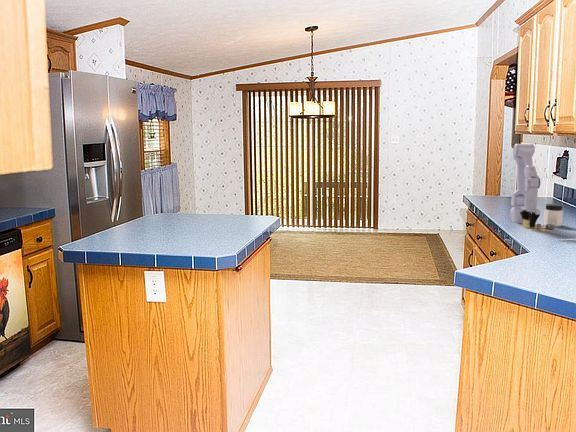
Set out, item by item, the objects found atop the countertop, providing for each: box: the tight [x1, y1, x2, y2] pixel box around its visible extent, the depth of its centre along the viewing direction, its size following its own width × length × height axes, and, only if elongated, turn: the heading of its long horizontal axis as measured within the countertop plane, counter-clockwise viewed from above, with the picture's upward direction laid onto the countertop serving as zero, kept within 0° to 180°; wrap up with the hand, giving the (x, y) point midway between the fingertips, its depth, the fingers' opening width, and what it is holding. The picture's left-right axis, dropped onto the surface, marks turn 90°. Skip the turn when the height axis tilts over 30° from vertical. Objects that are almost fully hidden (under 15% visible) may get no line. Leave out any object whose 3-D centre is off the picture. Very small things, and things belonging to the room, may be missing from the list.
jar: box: [542, 203, 564, 227], centre depth 290 cm, size 9×8×12 cm
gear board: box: [519, 223, 559, 232], centre depth 280 cm, size 16×13×4 cm
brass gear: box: [521, 219, 535, 229], centre depth 282 cm, size 5×5×4 cm
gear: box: [545, 223, 556, 230], centre depth 277 cm, size 5×5×3 cm
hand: (528, 225), depth 283 cm, fingers closed on brass gear, 5 cm apart
